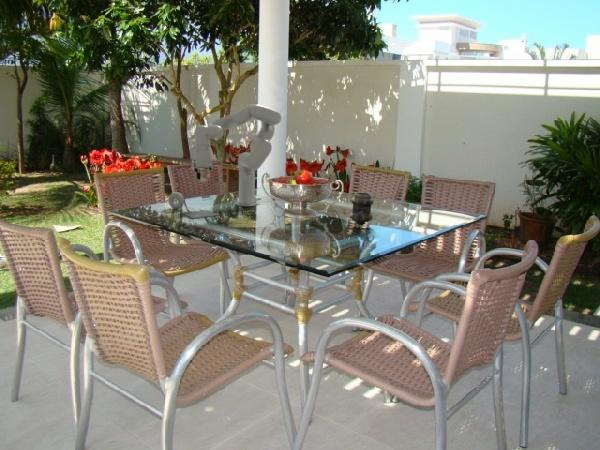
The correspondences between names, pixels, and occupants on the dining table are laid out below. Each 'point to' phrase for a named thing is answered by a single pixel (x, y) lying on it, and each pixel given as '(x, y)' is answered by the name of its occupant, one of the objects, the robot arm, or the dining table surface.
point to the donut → (172, 202)
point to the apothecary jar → (361, 208)
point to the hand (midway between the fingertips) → (202, 178)
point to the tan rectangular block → (204, 175)
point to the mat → (199, 214)
